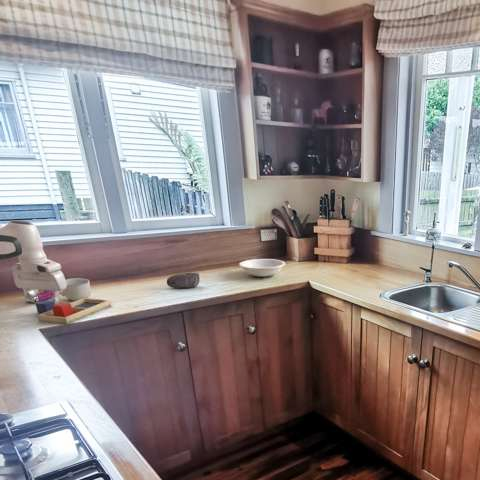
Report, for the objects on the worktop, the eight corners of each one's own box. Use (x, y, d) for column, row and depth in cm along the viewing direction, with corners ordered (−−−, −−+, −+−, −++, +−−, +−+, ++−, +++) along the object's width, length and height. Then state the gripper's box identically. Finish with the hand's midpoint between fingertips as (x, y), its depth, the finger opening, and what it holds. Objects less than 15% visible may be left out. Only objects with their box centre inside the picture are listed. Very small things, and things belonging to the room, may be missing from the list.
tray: (38, 321, 176) (37, 315, 175) (85, 303, 197) (84, 298, 196) (66, 324, 174) (65, 317, 173) (111, 306, 195) (109, 300, 194)
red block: (54, 316, 178) (51, 305, 176) (63, 313, 182) (60, 302, 180) (64, 317, 177) (61, 306, 175) (73, 314, 181) (70, 303, 179)
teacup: (95, 294, 209) (91, 277, 206) (90, 301, 200) (86, 283, 196) (60, 296, 205) (55, 278, 202) (53, 303, 196) (48, 285, 192)
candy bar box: (36, 303, 196) (25, 264, 188) (25, 302, 196) (14, 263, 189) (56, 296, 206) (46, 258, 199) (46, 295, 206) (35, 258, 199)
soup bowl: (270, 268, 265) (270, 257, 263) (294, 276, 250) (293, 264, 247) (232, 274, 251) (230, 262, 248) (254, 283, 235) (253, 270, 232)
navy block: (38, 314, 183) (34, 303, 181) (47, 310, 187) (44, 300, 185) (48, 315, 183) (45, 304, 181) (57, 311, 187) (54, 300, 185)
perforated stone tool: (167, 290, 219) (164, 275, 216) (168, 287, 224) (165, 272, 221) (200, 288, 224) (198, 274, 221) (200, 285, 228) (198, 271, 225)
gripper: (4, 265, 176) (16, 300, 182) (51, 268, 172) (61, 304, 178) (18, 261, 181) (29, 296, 187) (64, 264, 178) (74, 299, 184)
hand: (45, 300), depth 183 cm, fingers open, 8 cm apart
